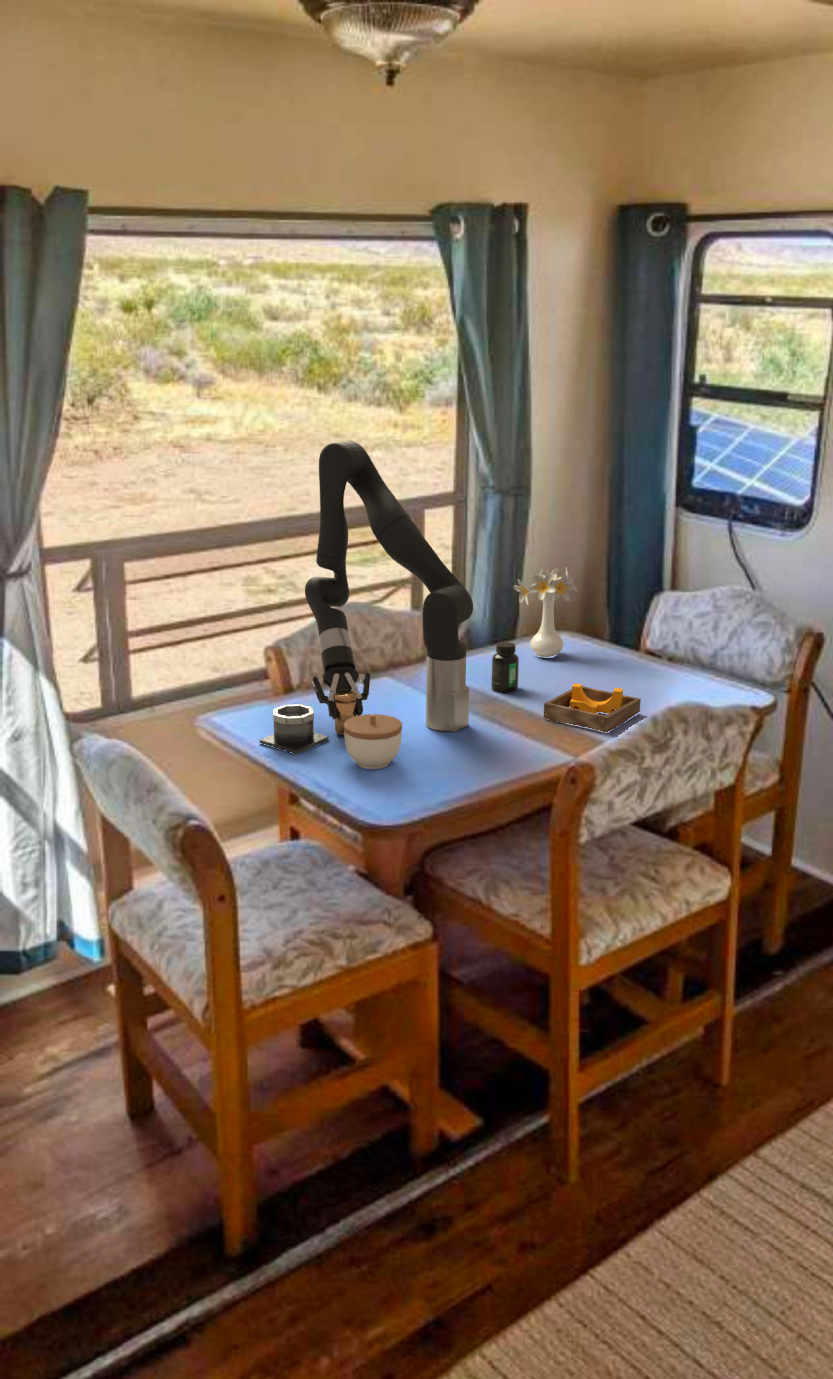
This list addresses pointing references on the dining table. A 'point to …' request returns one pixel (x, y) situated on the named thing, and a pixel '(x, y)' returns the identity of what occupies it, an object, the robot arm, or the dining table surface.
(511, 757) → the dining table surface
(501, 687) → the supplement bottle
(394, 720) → the lidded bowl
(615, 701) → the pipe clamp
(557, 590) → the flower vase
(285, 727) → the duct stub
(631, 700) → the hardware corral
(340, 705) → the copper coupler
